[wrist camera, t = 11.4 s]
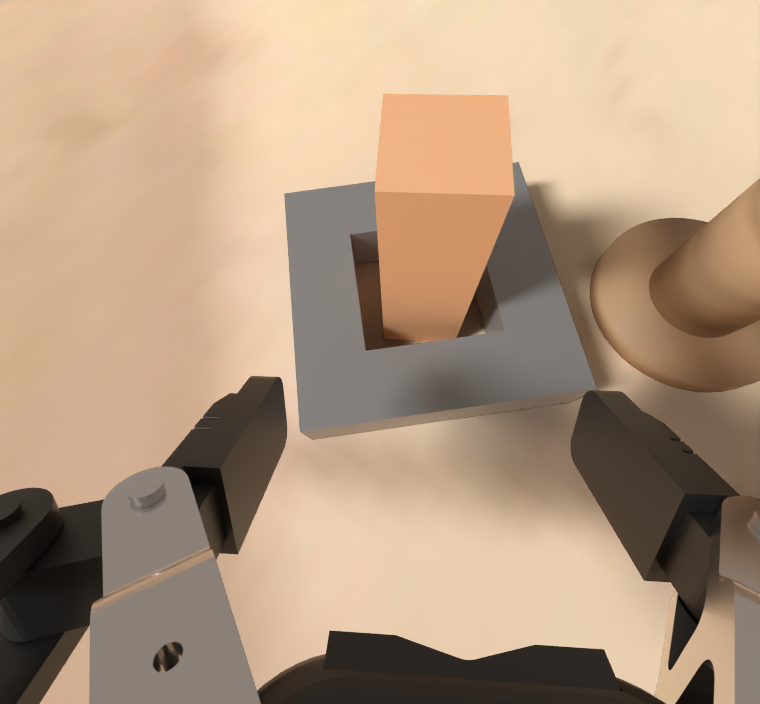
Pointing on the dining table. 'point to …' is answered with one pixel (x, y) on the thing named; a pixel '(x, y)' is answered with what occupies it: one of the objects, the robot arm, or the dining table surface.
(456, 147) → the orange rectangular block
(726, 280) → the bobbin
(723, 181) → the dining table surface
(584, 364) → the block with square hole
